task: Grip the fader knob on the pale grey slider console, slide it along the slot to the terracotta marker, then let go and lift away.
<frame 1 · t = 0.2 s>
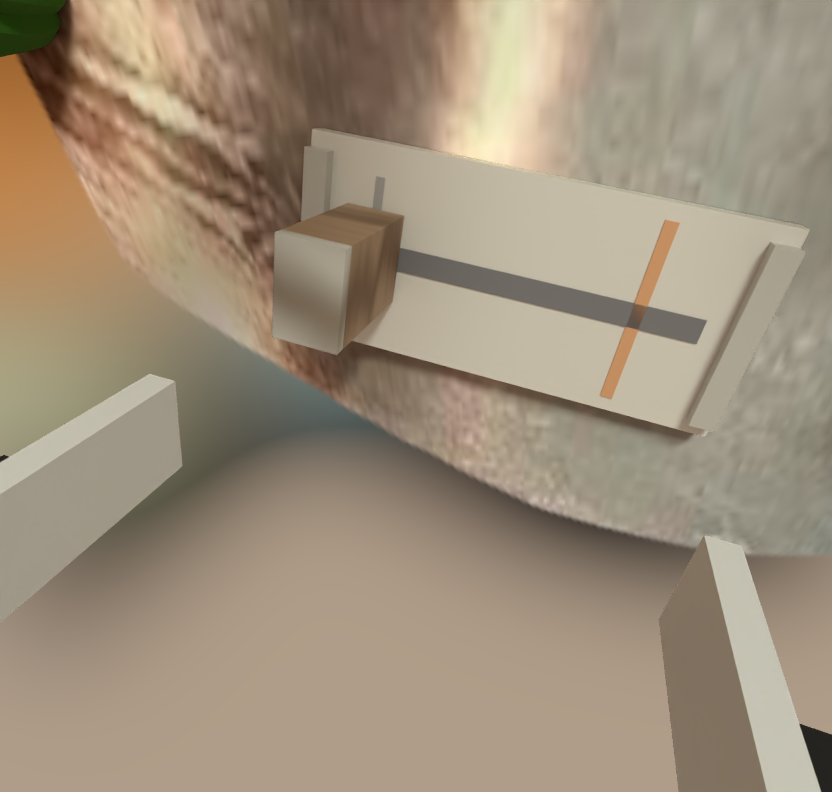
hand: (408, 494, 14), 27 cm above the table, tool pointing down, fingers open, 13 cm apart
fader knob: (342, 272, 34), point 7 cm above the table, slide at 0.0 cm
slider console: (516, 280, 38), on the table
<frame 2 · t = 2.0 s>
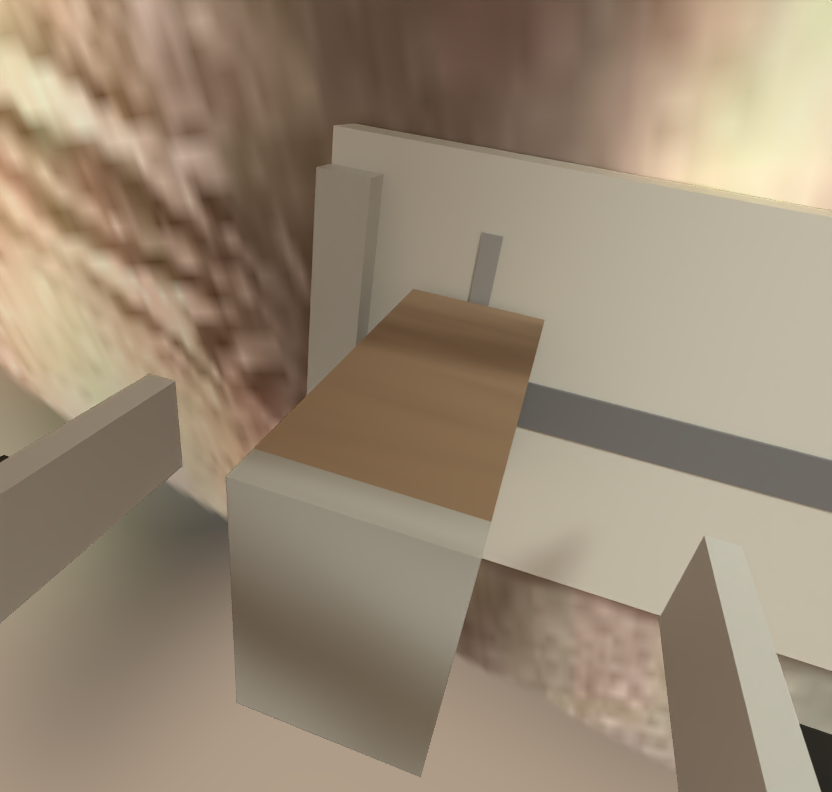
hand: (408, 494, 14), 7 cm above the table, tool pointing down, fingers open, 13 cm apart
fader knob: (416, 479, 14), point 7 cm above the table, slide at 0.0 cm
slider console: (776, 447, 18), on the table
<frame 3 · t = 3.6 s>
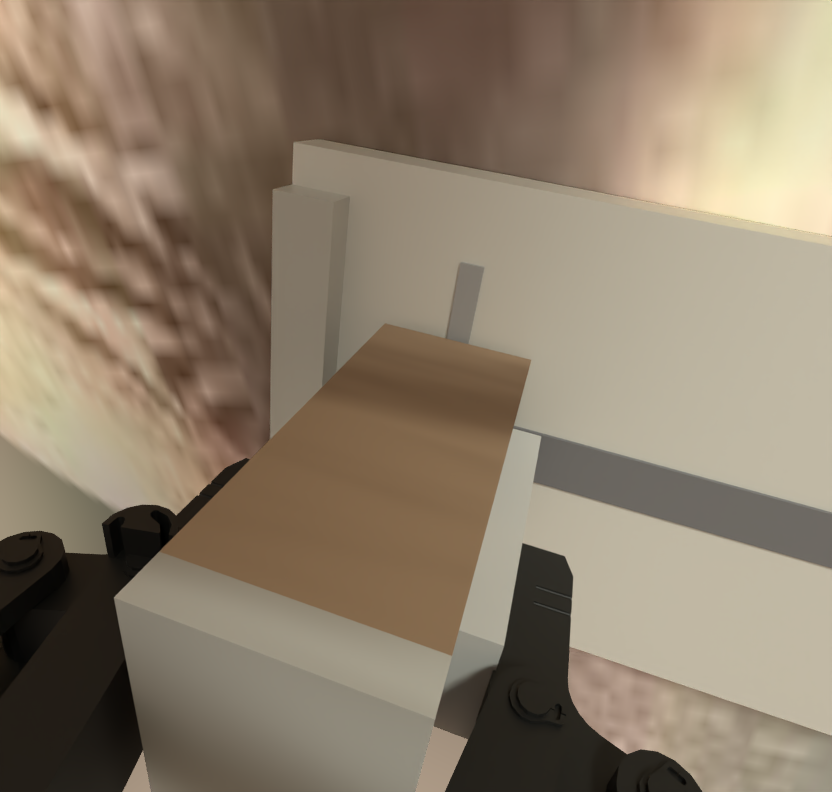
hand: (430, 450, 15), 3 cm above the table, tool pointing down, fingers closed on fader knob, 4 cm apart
fader knob: (381, 550, 12), point 7 cm above the table, slide at 0.0 cm, touching gripper
slider console: (789, 498, 16), on the table
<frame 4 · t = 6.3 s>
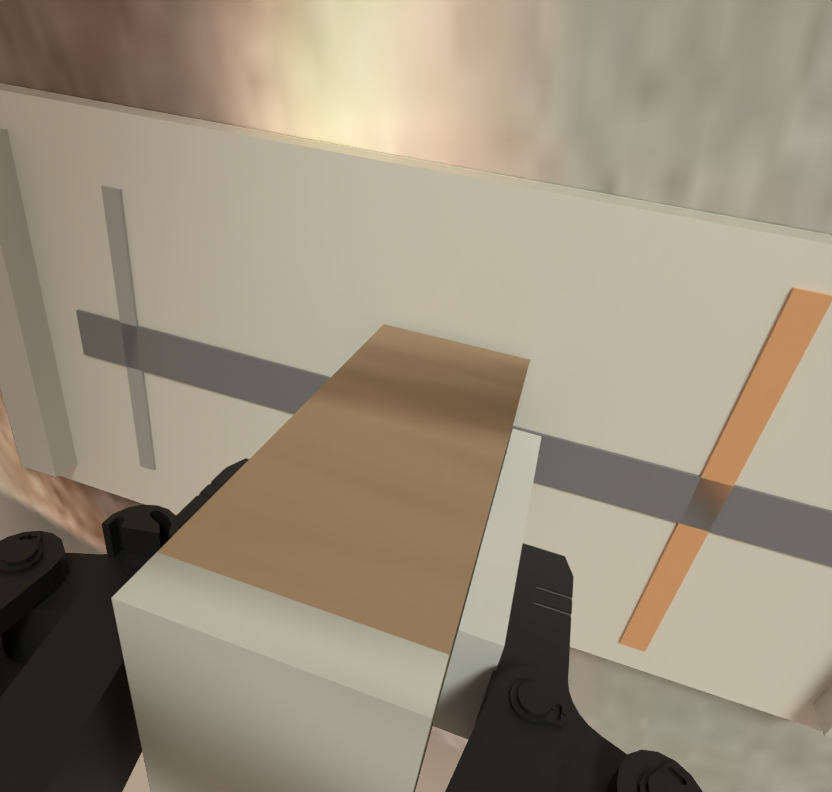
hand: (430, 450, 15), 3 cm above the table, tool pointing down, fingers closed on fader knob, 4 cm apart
fader knob: (381, 550, 12), point 7 cm above the table, slide at 10.6 cm, touching gripper
slider console: (435, 402, 18), on the table
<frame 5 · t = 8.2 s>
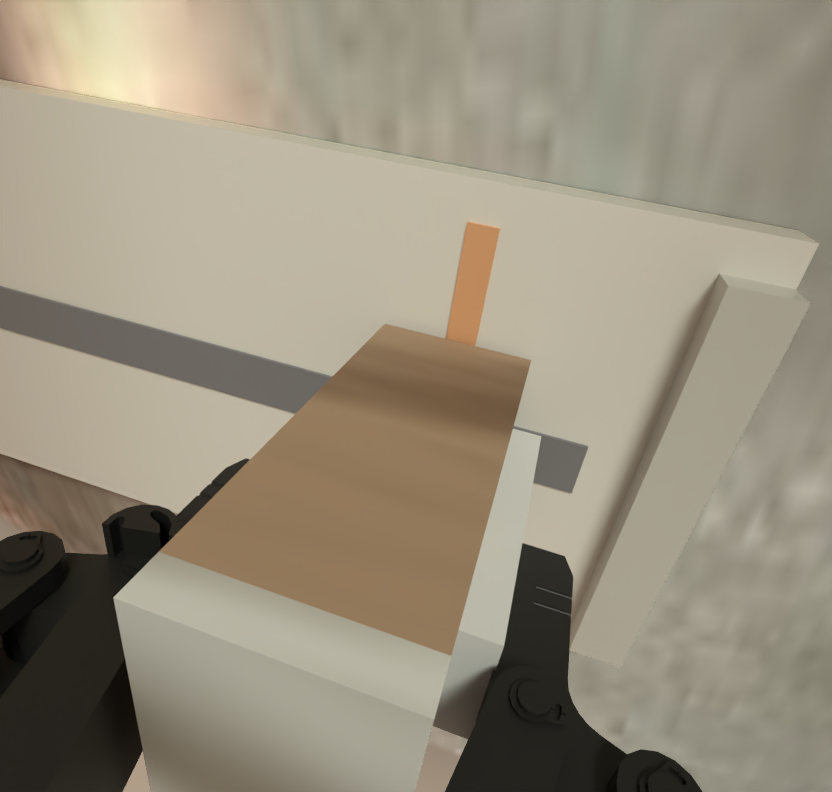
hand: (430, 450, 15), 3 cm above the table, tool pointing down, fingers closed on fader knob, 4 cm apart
fader knob: (381, 550, 12), point 7 cm above the table, slide at 17.9 cm, touching gripper
slider console: (230, 346, 19), on the table
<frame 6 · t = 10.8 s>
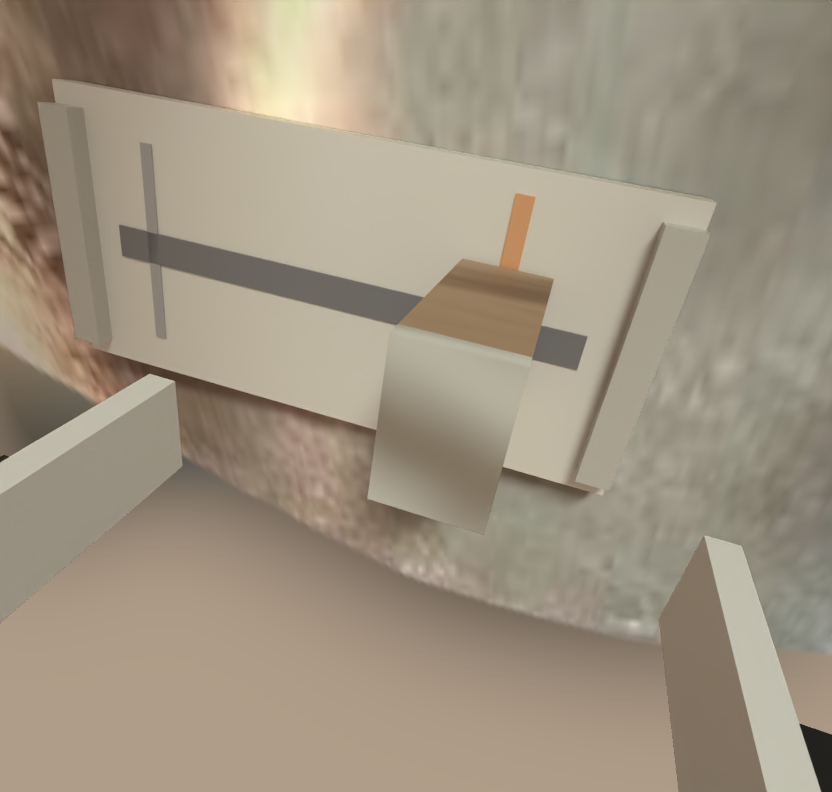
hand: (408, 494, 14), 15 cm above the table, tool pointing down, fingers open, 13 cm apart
fader knob: (471, 376, 21), point 7 cm above the table, slide at 18.0 cm
slider console: (345, 284, 28), on the table
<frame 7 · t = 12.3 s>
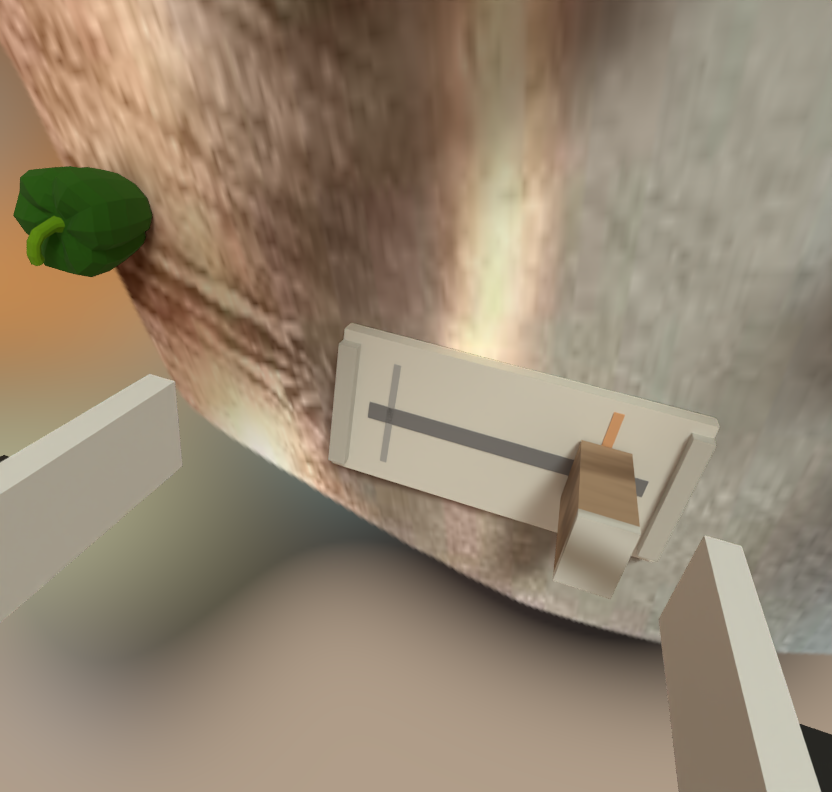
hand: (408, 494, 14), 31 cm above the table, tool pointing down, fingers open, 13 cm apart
fader knob: (594, 513, 41), point 7 cm above the table, slide at 18.0 cm
bell pepper: (127, 209, 49), on the table
slider console: (503, 438, 48), on the table
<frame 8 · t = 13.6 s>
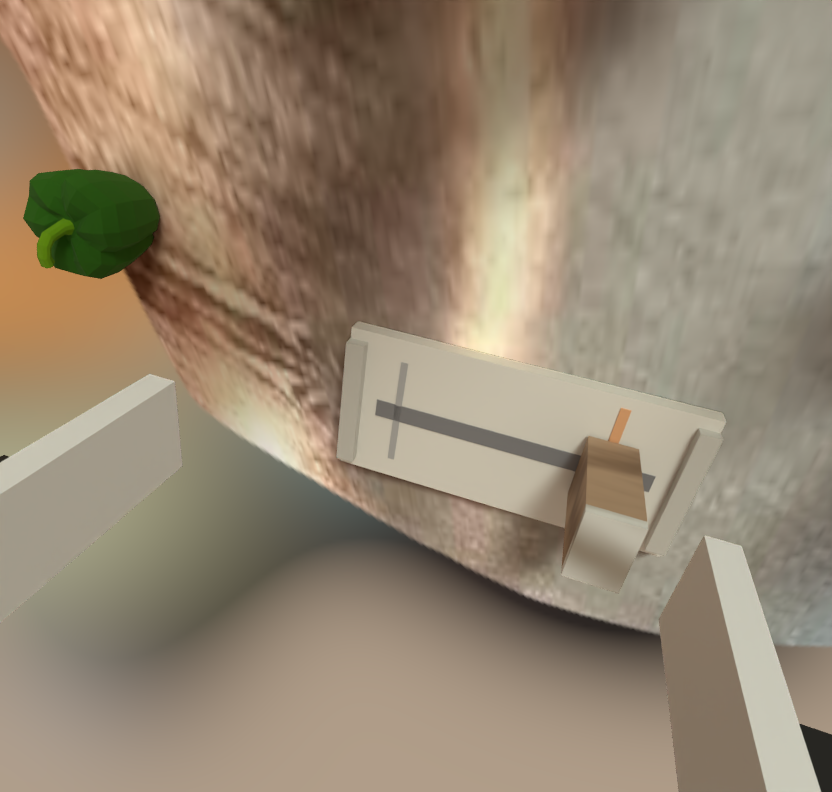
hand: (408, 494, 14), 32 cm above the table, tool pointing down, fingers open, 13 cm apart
fader knob: (602, 508, 41), point 7 cm above the table, slide at 18.0 cm
bell pepper: (135, 211, 49), on the table
slider console: (510, 434, 49), on the table
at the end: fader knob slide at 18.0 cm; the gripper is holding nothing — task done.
